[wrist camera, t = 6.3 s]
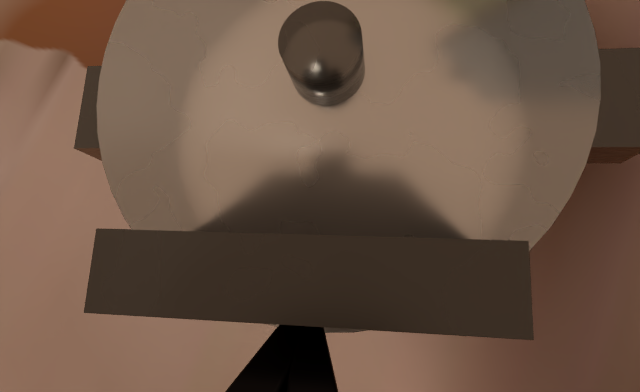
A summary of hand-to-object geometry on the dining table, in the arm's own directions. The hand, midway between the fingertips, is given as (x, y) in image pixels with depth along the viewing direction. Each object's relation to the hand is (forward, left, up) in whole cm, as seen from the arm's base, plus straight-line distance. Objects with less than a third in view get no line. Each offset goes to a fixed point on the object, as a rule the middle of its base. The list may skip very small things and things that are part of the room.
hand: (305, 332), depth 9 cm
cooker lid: (+7, 0, -2) cm, 7 cm away
